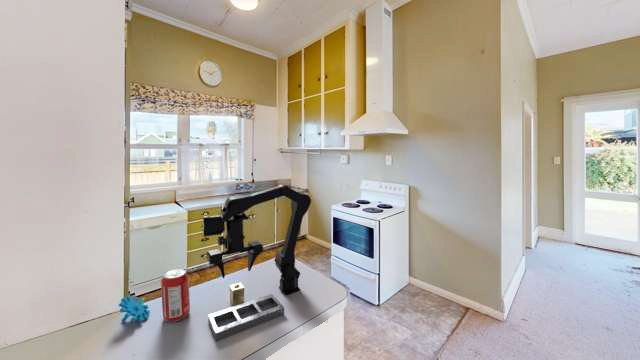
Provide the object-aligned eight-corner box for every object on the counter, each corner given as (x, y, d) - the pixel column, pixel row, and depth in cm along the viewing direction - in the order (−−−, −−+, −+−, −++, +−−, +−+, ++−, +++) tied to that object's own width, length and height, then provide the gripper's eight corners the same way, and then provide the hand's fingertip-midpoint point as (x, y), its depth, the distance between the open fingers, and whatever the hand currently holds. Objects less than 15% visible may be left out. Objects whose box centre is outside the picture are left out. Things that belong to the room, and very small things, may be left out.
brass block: (240, 297, 96) (240, 282, 95) (244, 302, 93) (244, 286, 92) (229, 301, 94) (229, 285, 93) (233, 306, 90) (232, 290, 90)
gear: (141, 324, 78) (115, 303, 77) (126, 339, 77) (99, 318, 76) (157, 307, 89) (135, 288, 88) (144, 320, 88) (121, 301, 87)
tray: (271, 300, 94) (271, 293, 94) (284, 314, 86) (284, 307, 86) (208, 322, 82) (208, 314, 82) (216, 341, 74) (215, 333, 73)
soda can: (171, 327, 79) (168, 281, 78) (158, 318, 83) (155, 274, 82) (194, 314, 86) (193, 271, 84) (182, 306, 90) (180, 265, 88)
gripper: (252, 222, 102) (253, 259, 104) (201, 231, 91) (203, 272, 93) (263, 229, 93) (264, 270, 95) (209, 240, 82) (211, 285, 84)
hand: (236, 274), depth 92 cm, fingers open, 9 cm apart
